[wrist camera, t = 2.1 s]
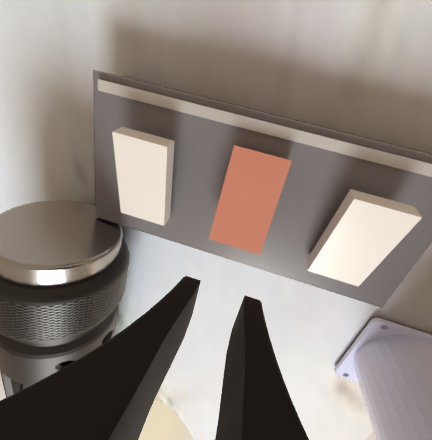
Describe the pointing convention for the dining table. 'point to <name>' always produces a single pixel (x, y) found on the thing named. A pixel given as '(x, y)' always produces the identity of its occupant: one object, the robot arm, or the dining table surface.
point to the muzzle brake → (56, 287)
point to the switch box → (292, 190)
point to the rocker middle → (249, 199)
